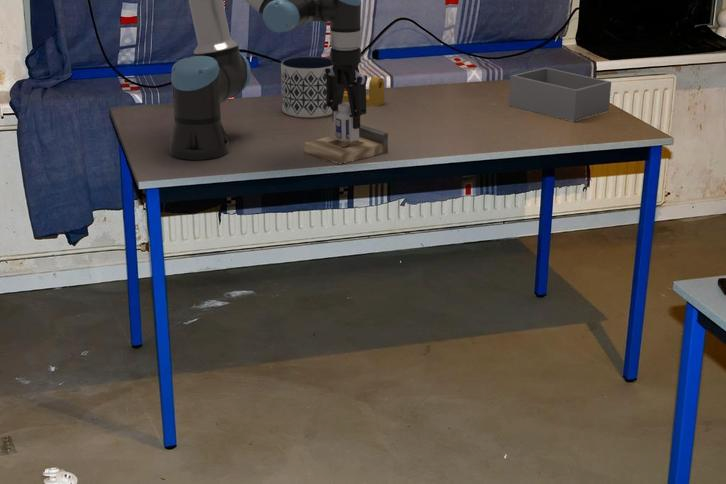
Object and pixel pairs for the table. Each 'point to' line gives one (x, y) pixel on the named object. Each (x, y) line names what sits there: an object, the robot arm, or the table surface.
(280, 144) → the table surface
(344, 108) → the pill bottle
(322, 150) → the jig
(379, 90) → the bracket
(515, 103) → the open gray rectangular box
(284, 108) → the planter
